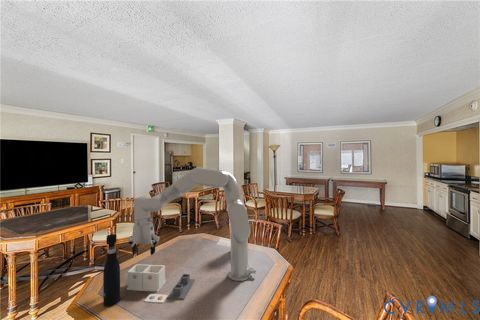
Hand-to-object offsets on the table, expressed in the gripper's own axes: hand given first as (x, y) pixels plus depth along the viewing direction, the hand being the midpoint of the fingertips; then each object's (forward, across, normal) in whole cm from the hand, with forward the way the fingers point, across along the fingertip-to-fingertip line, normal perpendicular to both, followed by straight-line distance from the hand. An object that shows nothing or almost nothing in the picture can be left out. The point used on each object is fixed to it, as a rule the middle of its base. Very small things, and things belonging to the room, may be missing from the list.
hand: (144, 253), depth 106 cm
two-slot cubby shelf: (+15, -2, +2) cm, 16 cm away
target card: (+16, -12, +11) cm, 23 cm away
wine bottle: (+15, +7, +15) cm, 22 cm away
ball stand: (+16, -21, +3) cm, 27 cm away
